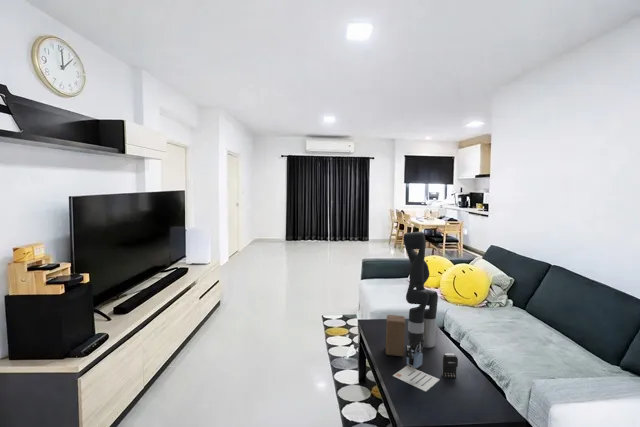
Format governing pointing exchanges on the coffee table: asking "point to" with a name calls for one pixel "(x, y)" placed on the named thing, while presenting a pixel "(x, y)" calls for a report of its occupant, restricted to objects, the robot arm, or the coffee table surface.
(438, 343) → the coffee table surface
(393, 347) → the wooden block
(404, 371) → the letter
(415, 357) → the blue cube
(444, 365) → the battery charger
